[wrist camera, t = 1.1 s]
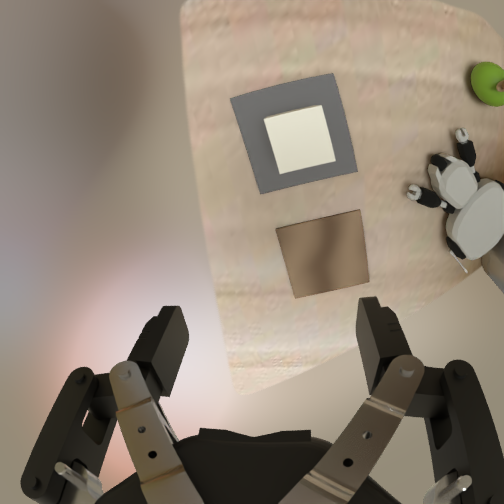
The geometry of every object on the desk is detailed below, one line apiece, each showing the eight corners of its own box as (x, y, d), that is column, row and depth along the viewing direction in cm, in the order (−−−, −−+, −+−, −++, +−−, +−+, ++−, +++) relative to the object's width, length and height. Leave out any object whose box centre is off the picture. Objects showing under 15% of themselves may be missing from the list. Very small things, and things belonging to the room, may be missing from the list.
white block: (313, 105, 27) (321, 105, 22) (325, 150, 29) (335, 161, 24) (266, 116, 28) (263, 119, 23) (279, 161, 30) (279, 174, 25)
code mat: (332, 73, 26) (333, 73, 25) (357, 171, 30) (357, 171, 30) (230, 98, 28) (229, 98, 28) (260, 193, 33) (260, 194, 32)
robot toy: (392, 189, 32) (456, 262, 34) (404, 199, 28) (470, 279, 30) (451, 119, 27) (508, 202, 29) (470, 121, 22) (526, 213, 25)
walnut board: (359, 209, 32) (360, 210, 32) (368, 280, 37) (369, 281, 36) (275, 228, 34) (275, 229, 34) (294, 297, 39) (294, 298, 38)
